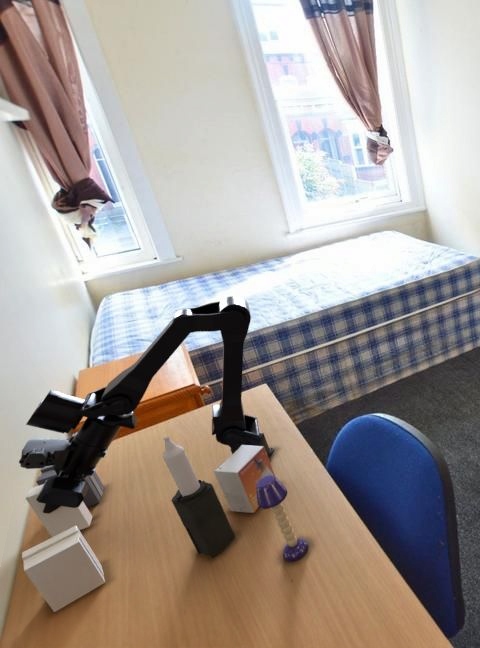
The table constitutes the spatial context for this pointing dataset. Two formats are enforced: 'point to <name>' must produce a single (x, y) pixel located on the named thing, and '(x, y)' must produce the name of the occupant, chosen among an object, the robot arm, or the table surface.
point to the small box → (243, 477)
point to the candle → (197, 504)
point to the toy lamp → (280, 515)
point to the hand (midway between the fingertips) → (48, 507)
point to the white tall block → (59, 514)
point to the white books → (63, 568)
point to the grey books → (92, 482)
